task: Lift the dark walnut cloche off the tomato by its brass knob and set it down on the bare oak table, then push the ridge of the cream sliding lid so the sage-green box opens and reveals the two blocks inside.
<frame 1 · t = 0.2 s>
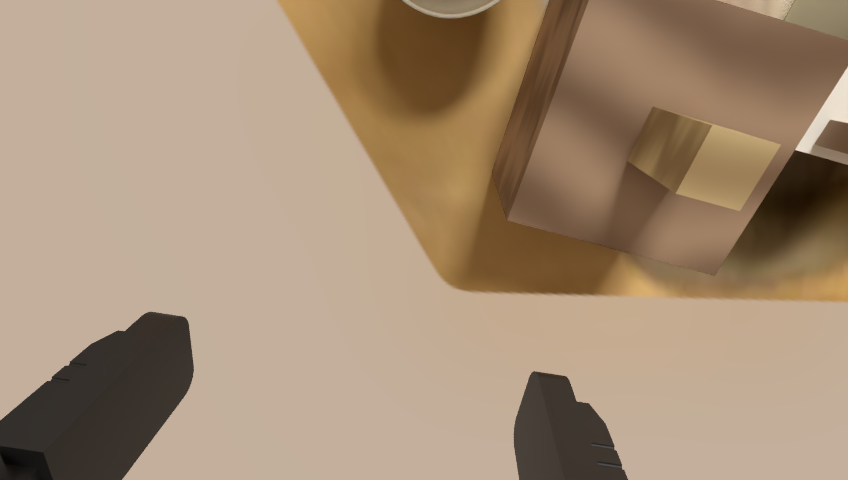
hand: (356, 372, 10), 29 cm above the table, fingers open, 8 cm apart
cover: (603, 112, 35), on the table
box: (845, 45, 32), on the table
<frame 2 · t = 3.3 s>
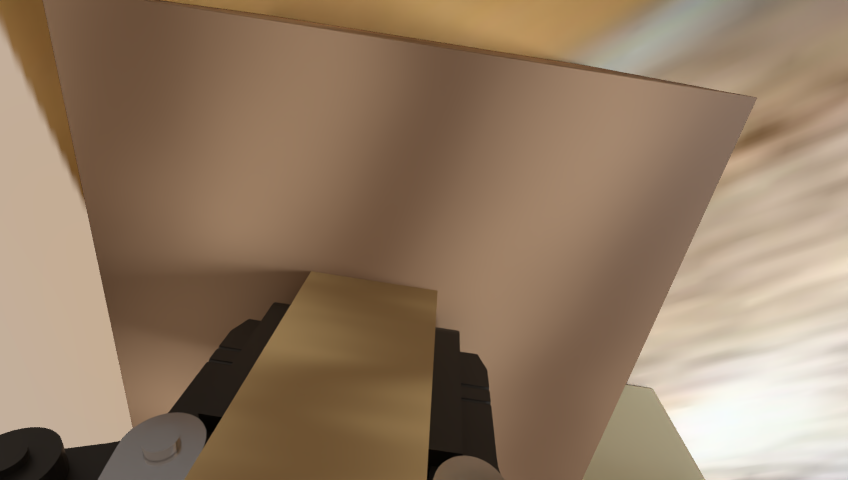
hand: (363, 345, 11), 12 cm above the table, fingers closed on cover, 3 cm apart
cover: (407, 194, 22), on the table, touching gripper
box: (515, 431, 28), on the table
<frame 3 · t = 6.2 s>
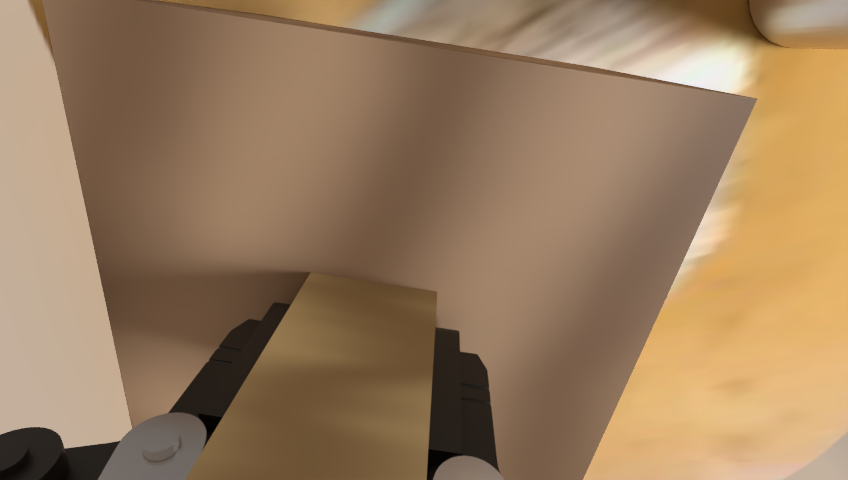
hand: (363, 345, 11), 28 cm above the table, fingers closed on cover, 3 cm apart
cover: (407, 195, 22), point 16 cm above the table, touching gripper
when the fingers open (13 cm above the table, at t = 9.1 s): cover drops 1 cm, on the table.
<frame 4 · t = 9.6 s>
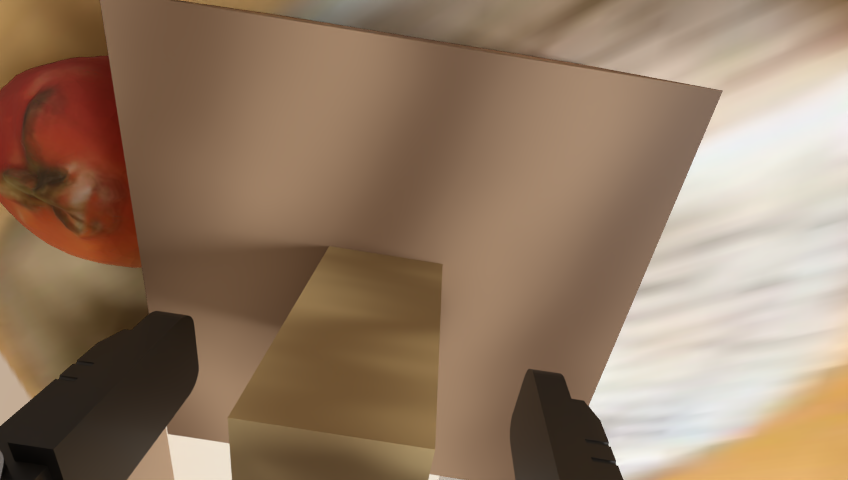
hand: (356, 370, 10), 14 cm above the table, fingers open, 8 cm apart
cover: (412, 185, 23), on the table
tomato: (170, 147, 23), on the table
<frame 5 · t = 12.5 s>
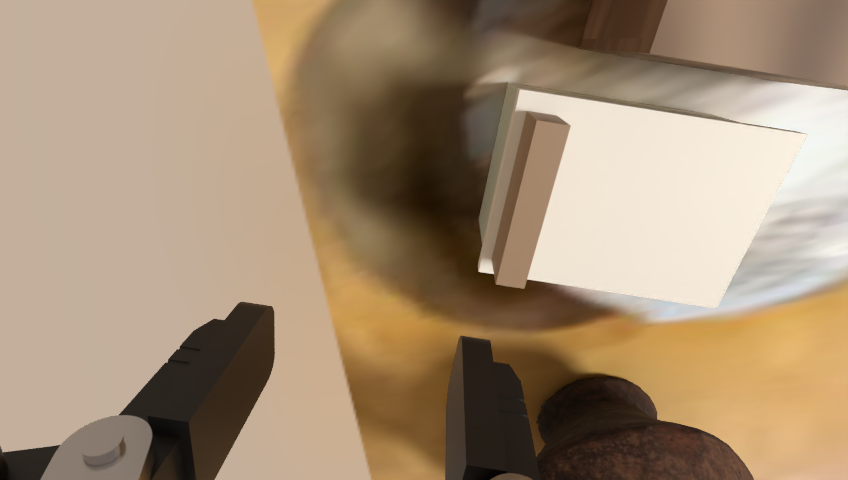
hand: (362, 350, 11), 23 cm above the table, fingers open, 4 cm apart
box: (587, 170, 32), on the table
lid: (635, 216, 24), point 9 cm above the table, slide at 0.0 cm
brown rounded lump: (589, 422, 43), on the table
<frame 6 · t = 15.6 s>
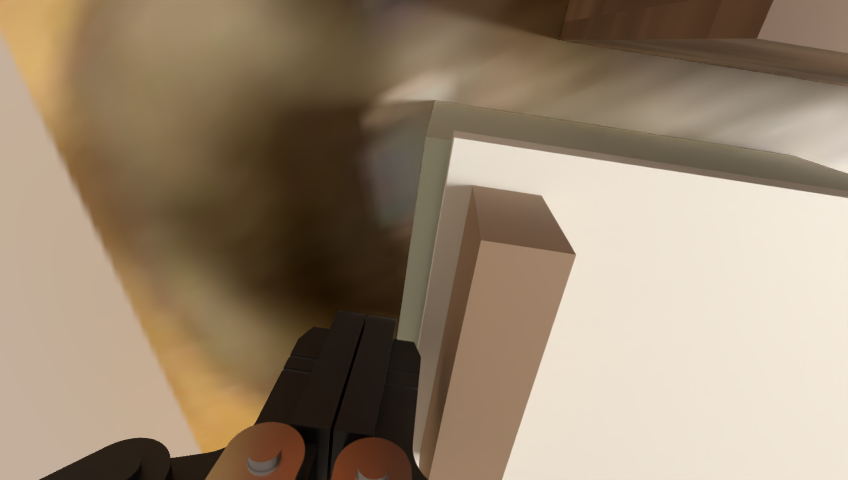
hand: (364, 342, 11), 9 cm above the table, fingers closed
box: (576, 245, 19), on the table
lid: (715, 409, 11), point 9 cm above the table, slide at 1.1 cm, touching gripper
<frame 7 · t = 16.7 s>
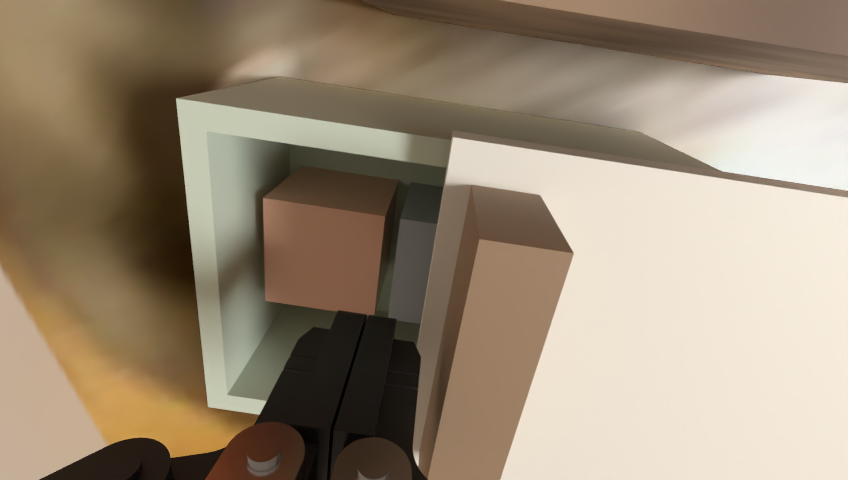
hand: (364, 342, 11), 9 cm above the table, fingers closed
box: (439, 224, 19), on the table
block terracotta: (347, 217, 18), point 1 cm above the table, touching box
block grey: (451, 233, 18), point 1 cm above the table, touching box
lid: (713, 408, 11), point 9 cm above the table, slide at 7.2 cm, touching gripper
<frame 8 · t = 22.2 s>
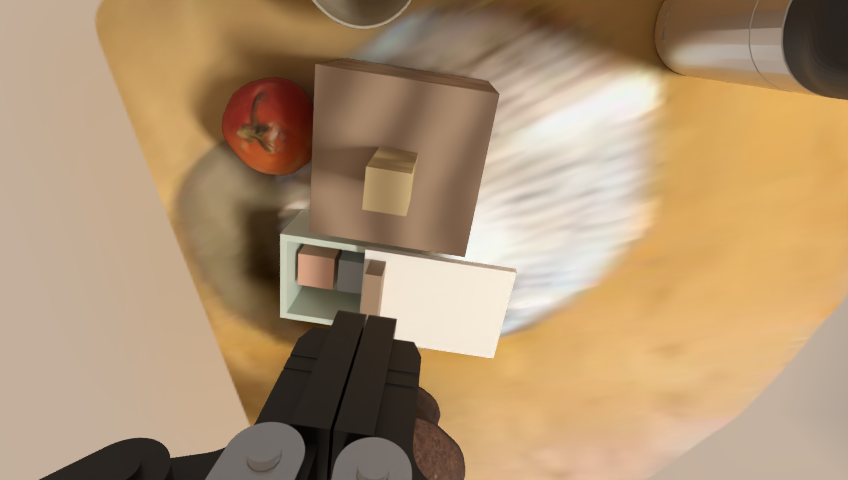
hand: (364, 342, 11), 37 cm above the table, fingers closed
cover: (408, 140, 46), on the table
box: (359, 257, 52), on the table
block terracotta: (325, 255, 51), point 1 cm above the table, touching box
tomato: (287, 121, 46), on the table
block grey: (362, 261, 51), point 1 cm above the table, touching box
lid: (432, 312, 44), point 9 cm above the table, slide at 9.4 cm
brown rounded lump: (400, 413, 63), on the table
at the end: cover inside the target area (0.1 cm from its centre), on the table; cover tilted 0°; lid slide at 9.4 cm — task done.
